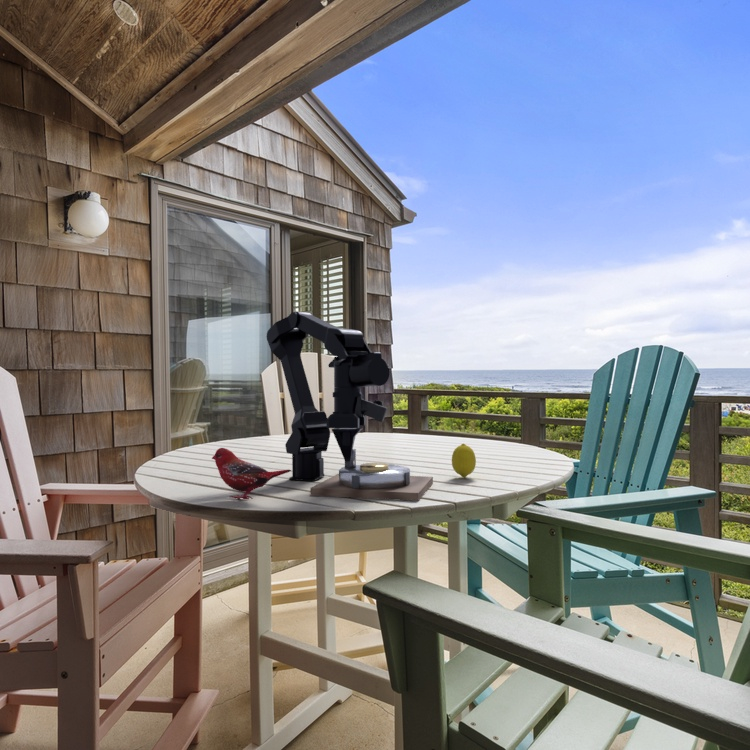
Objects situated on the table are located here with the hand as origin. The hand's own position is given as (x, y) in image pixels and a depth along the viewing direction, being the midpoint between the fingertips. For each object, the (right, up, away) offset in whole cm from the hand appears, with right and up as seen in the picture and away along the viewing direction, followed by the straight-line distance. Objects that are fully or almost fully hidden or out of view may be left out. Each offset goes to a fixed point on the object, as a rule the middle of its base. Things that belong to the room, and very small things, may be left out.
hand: (347, 461), depth 108 cm
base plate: (+6, -6, -1) cm, 8 cm away
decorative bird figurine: (-18, -6, -9) cm, 21 cm away
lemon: (+27, -6, +11) cm, 29 cm away
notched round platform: (+6, -4, -1) cm, 7 cm away
